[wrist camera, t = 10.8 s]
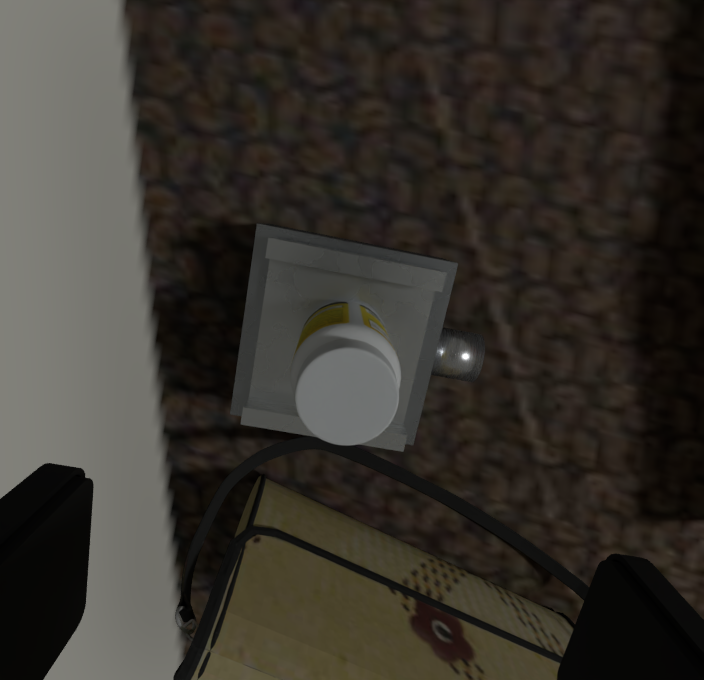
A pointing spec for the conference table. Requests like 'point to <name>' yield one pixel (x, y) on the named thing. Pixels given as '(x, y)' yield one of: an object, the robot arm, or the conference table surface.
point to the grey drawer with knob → (345, 285)
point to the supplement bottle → (345, 374)
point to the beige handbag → (358, 595)
